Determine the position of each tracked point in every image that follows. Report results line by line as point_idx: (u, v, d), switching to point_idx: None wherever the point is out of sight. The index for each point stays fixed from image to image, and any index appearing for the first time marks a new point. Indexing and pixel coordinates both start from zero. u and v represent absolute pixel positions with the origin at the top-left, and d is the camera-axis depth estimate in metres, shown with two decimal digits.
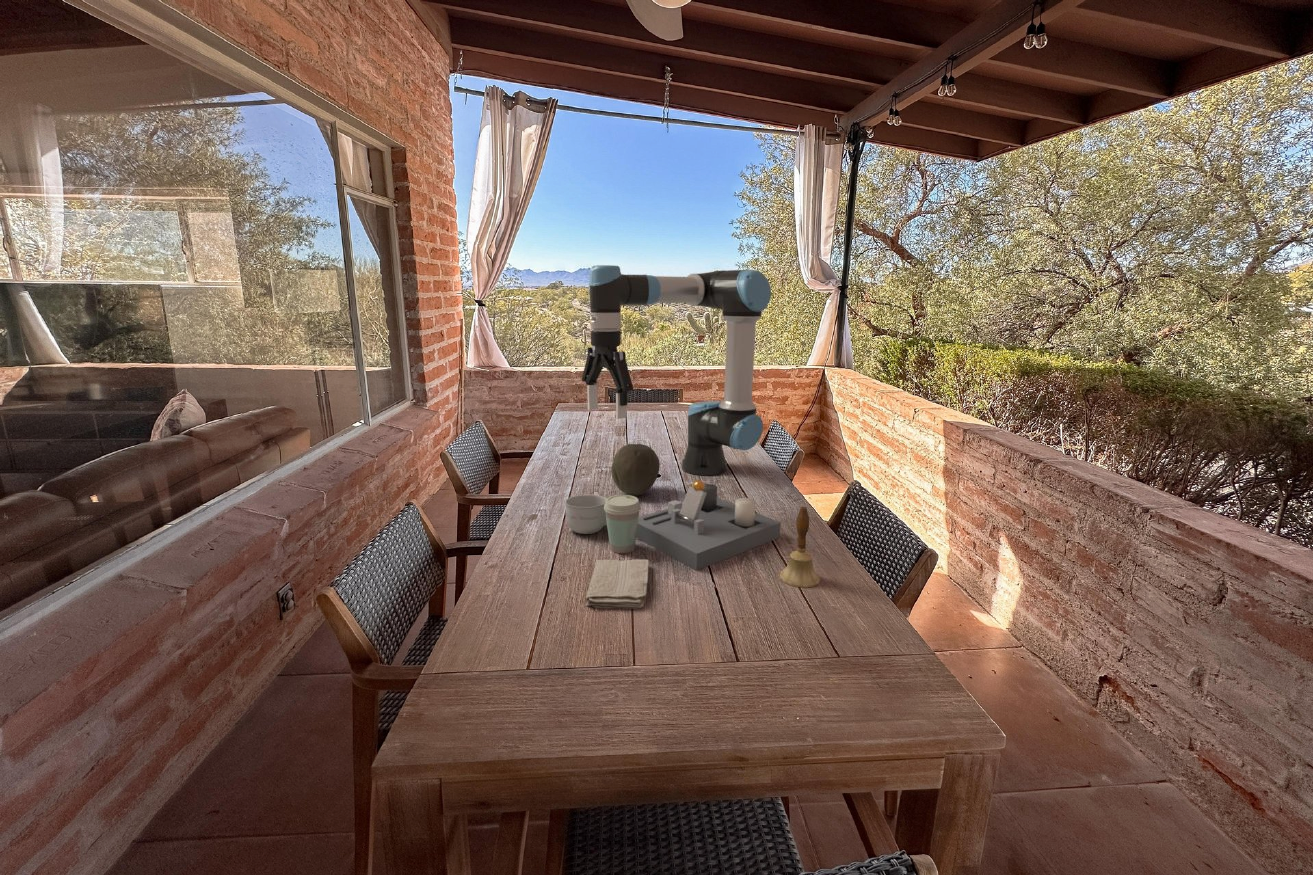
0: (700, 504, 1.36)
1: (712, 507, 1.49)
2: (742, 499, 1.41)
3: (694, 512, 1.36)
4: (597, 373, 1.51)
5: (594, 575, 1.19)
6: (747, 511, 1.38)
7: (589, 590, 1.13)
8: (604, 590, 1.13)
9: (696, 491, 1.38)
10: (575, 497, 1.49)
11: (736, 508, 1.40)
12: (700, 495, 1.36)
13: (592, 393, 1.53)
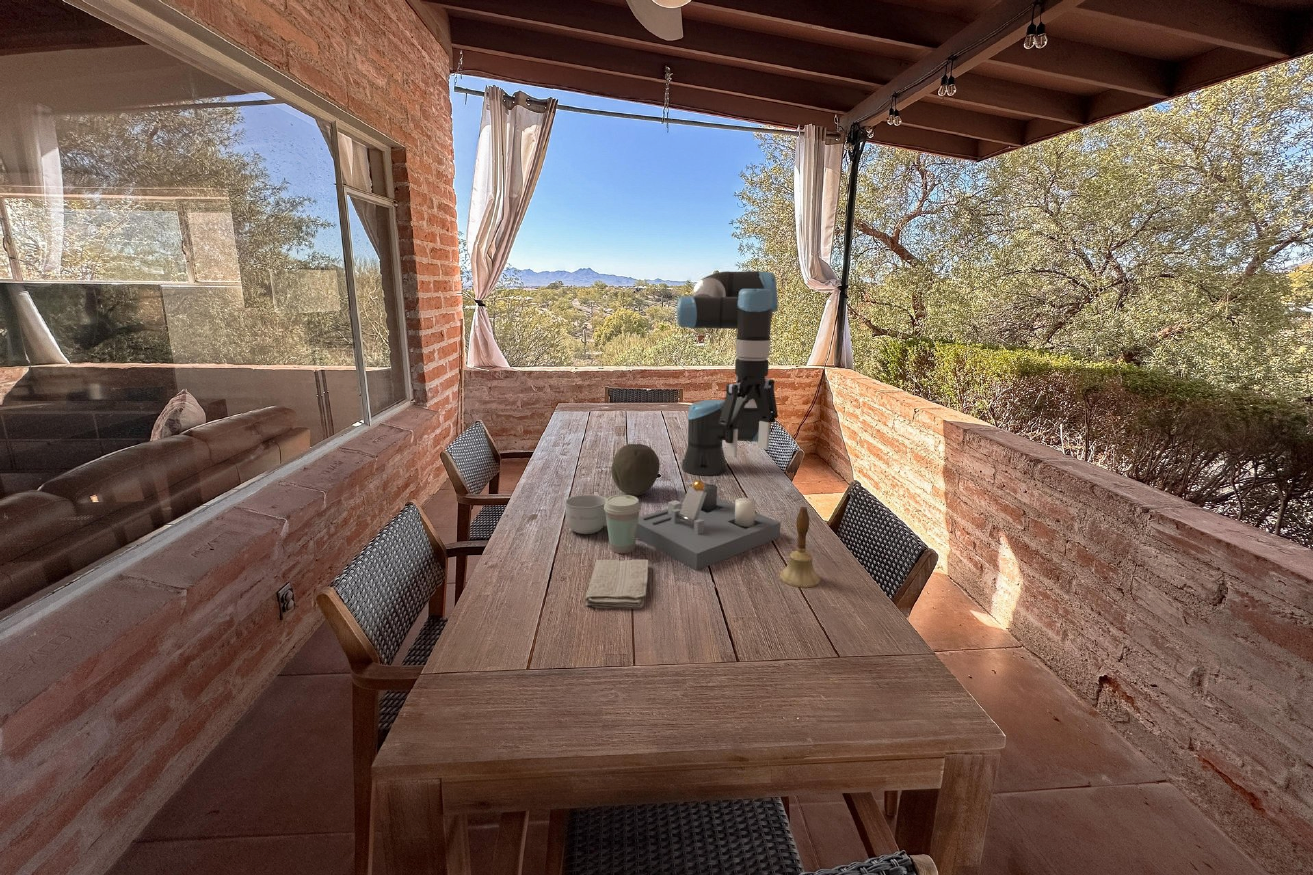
0: (700, 504, 1.36)
1: (712, 507, 1.49)
2: (742, 499, 1.41)
3: (694, 512, 1.36)
4: (762, 407, 1.37)
5: (594, 575, 1.19)
6: (747, 511, 1.38)
7: (589, 590, 1.13)
8: (604, 590, 1.13)
9: (696, 491, 1.38)
10: (575, 497, 1.49)
11: (736, 508, 1.40)
12: (700, 495, 1.36)
13: (762, 431, 1.40)
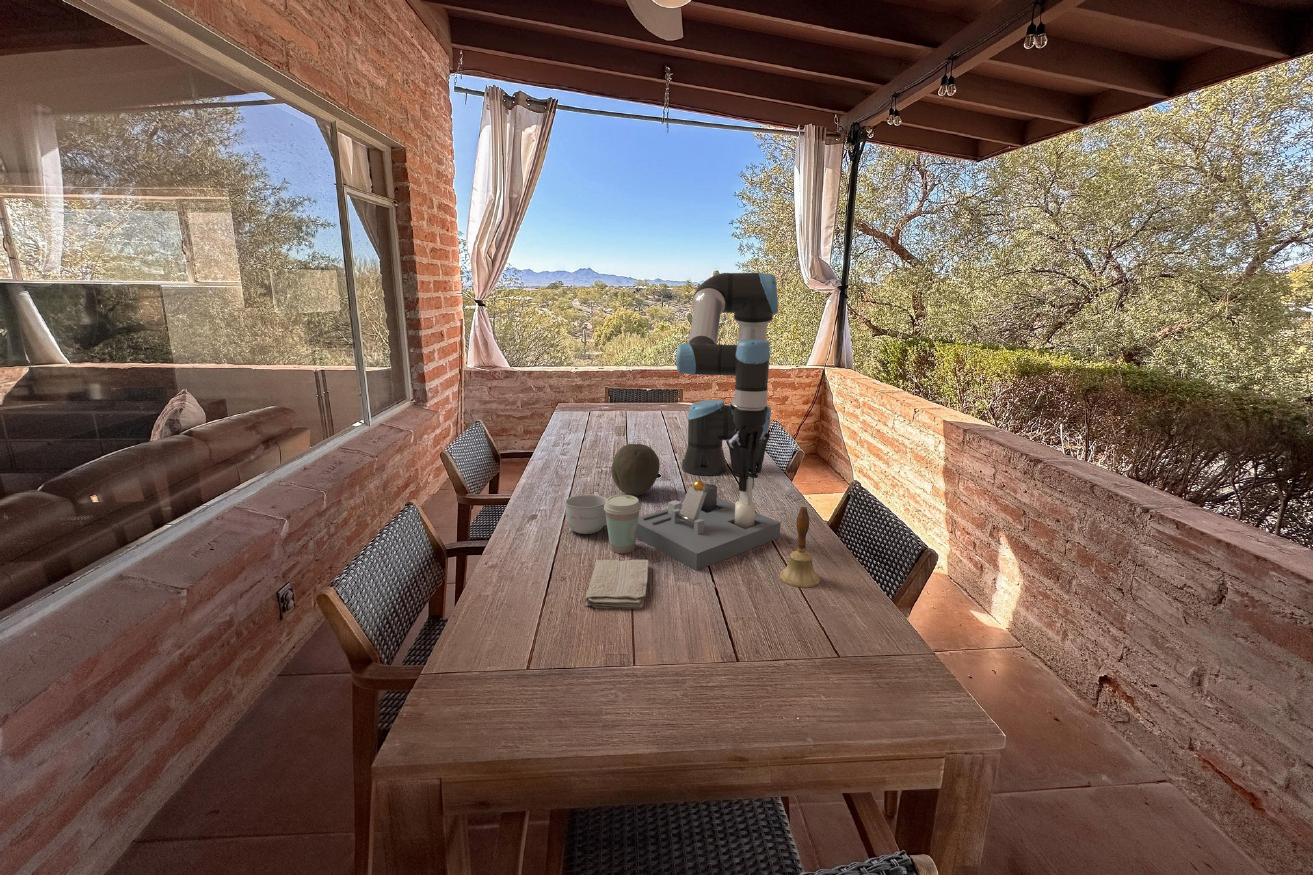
0: (700, 504, 1.36)
1: (712, 507, 1.49)
2: None
3: (694, 512, 1.36)
4: (751, 458, 1.38)
5: (594, 575, 1.19)
6: (747, 513, 1.39)
7: (589, 590, 1.13)
8: (604, 590, 1.13)
9: (696, 491, 1.38)
10: (575, 497, 1.49)
11: (736, 510, 1.40)
12: (700, 495, 1.36)
13: None
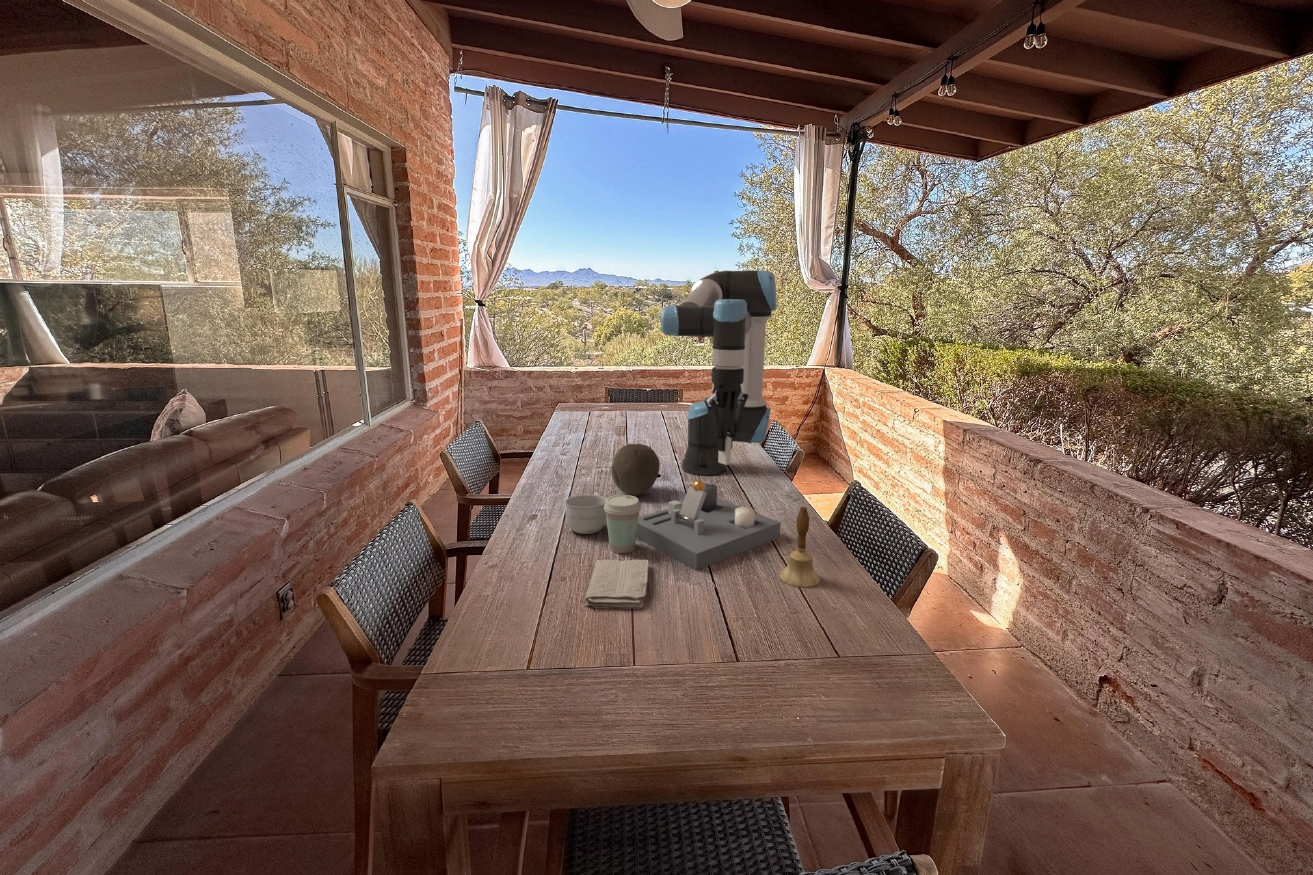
0: (700, 504, 1.36)
1: (712, 507, 1.49)
2: (742, 508, 1.42)
3: (694, 512, 1.36)
4: (729, 418, 1.39)
5: (594, 575, 1.19)
6: (746, 520, 1.39)
7: (588, 590, 1.13)
8: (604, 590, 1.13)
9: (696, 491, 1.38)
10: (575, 497, 1.49)
11: (736, 518, 1.41)
12: (700, 495, 1.36)
13: None
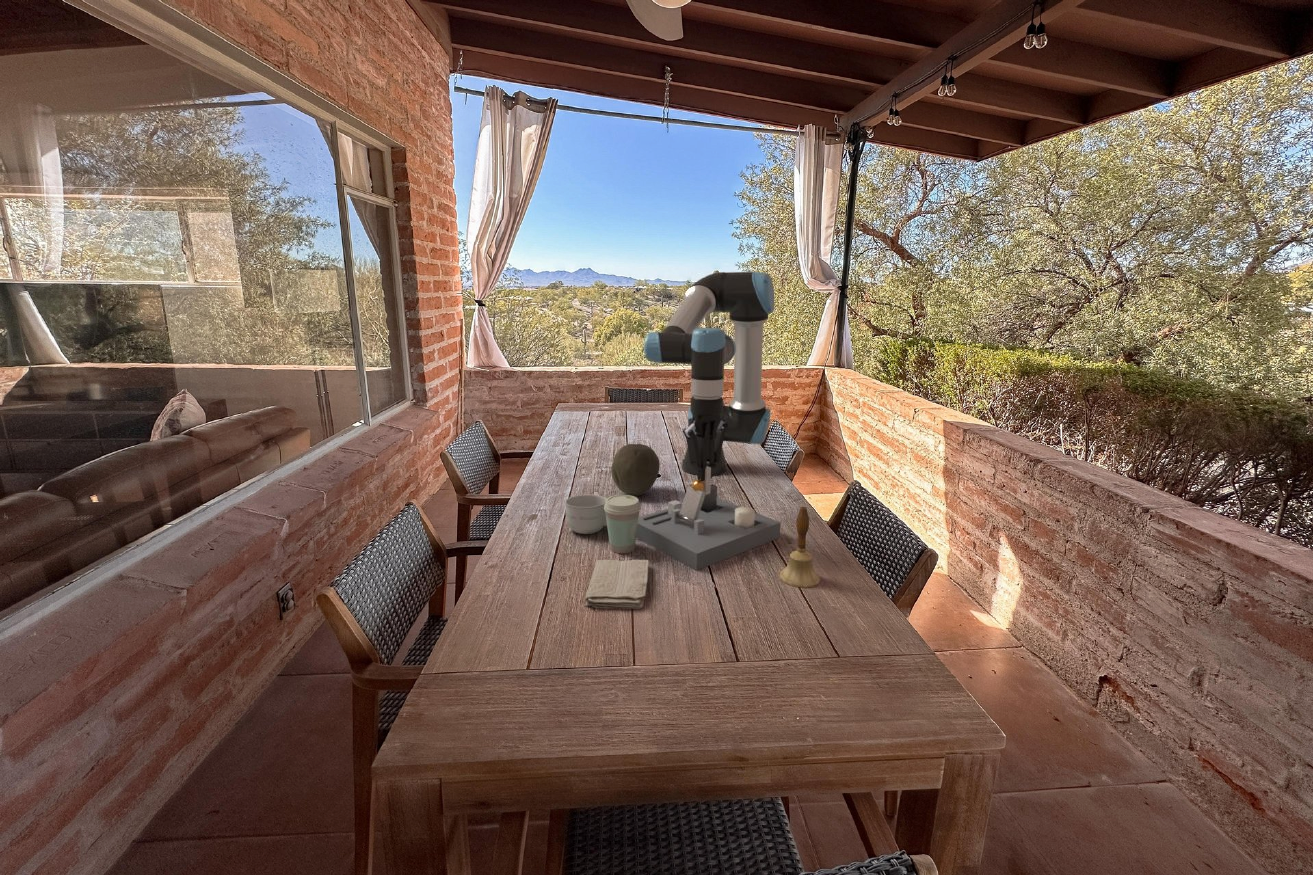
0: (699, 503, 1.36)
1: (712, 507, 1.49)
2: (742, 508, 1.42)
3: (694, 512, 1.36)
4: (708, 448, 1.37)
5: (594, 575, 1.19)
6: (746, 520, 1.39)
7: (588, 590, 1.13)
8: (604, 590, 1.13)
9: (695, 491, 1.37)
10: (575, 497, 1.49)
11: (736, 518, 1.41)
12: (700, 495, 1.36)
13: None
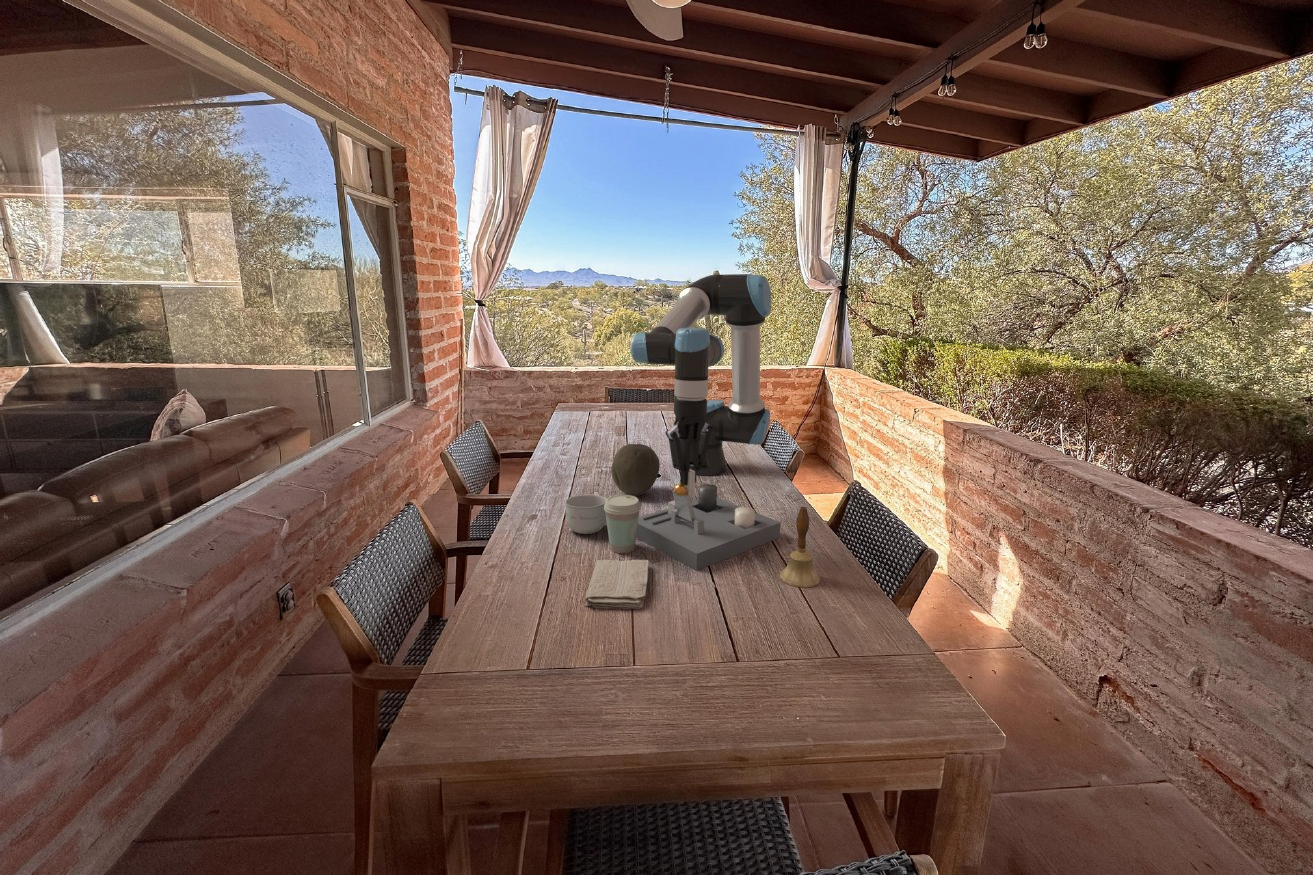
0: (690, 506, 1.34)
1: (712, 507, 1.49)
2: (742, 508, 1.42)
3: (689, 515, 1.35)
4: (692, 450, 1.34)
5: (594, 575, 1.19)
6: (746, 520, 1.39)
7: (588, 590, 1.13)
8: (604, 590, 1.13)
9: (680, 496, 1.35)
10: (575, 497, 1.49)
11: (736, 518, 1.41)
12: (686, 500, 1.34)
13: None
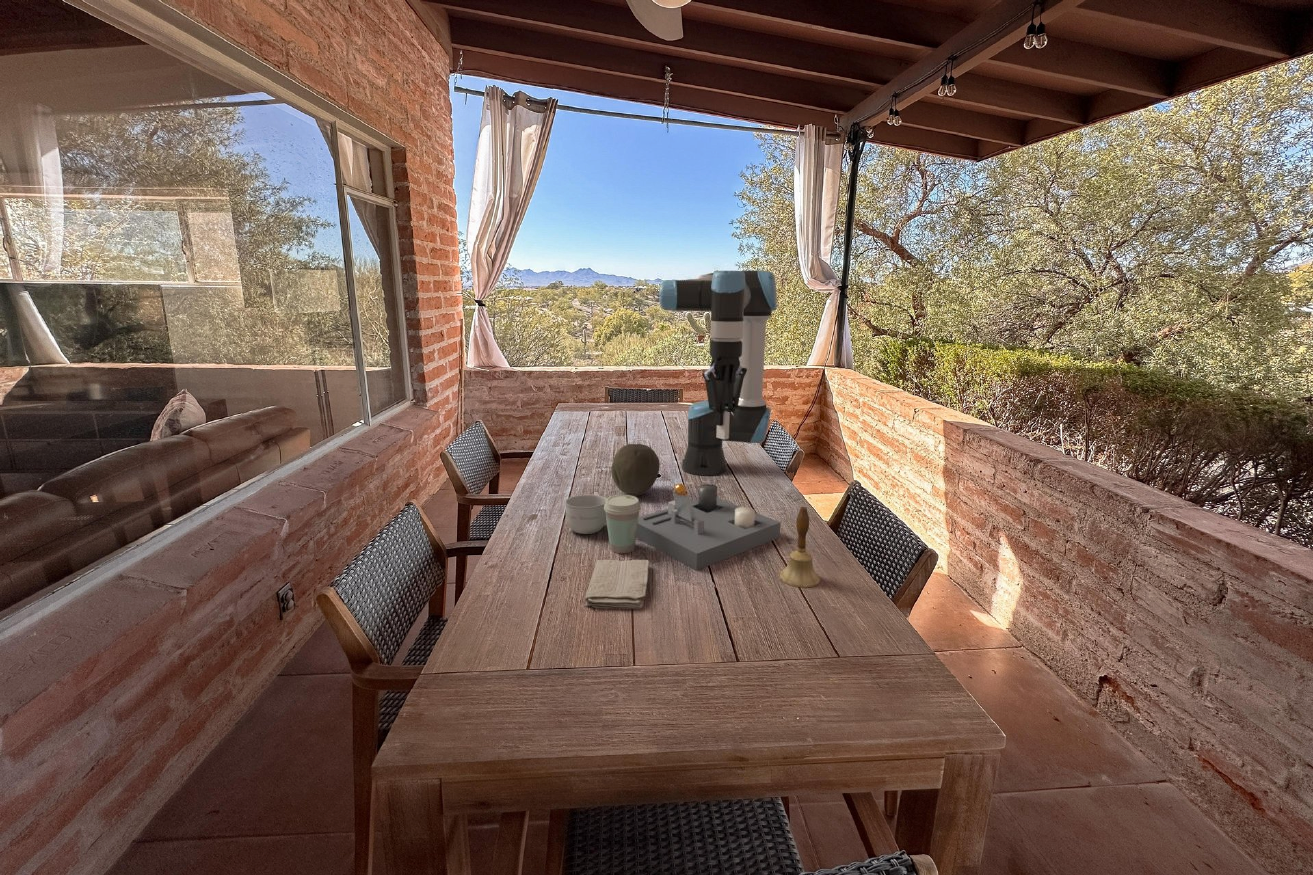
0: (690, 506, 1.34)
1: (712, 507, 1.49)
2: (742, 508, 1.42)
3: (689, 515, 1.35)
4: (727, 392, 1.38)
5: (594, 575, 1.19)
6: (746, 520, 1.39)
7: (588, 590, 1.13)
8: (604, 590, 1.13)
9: (680, 496, 1.35)
10: (575, 497, 1.49)
11: (736, 518, 1.41)
12: (686, 500, 1.34)
13: None
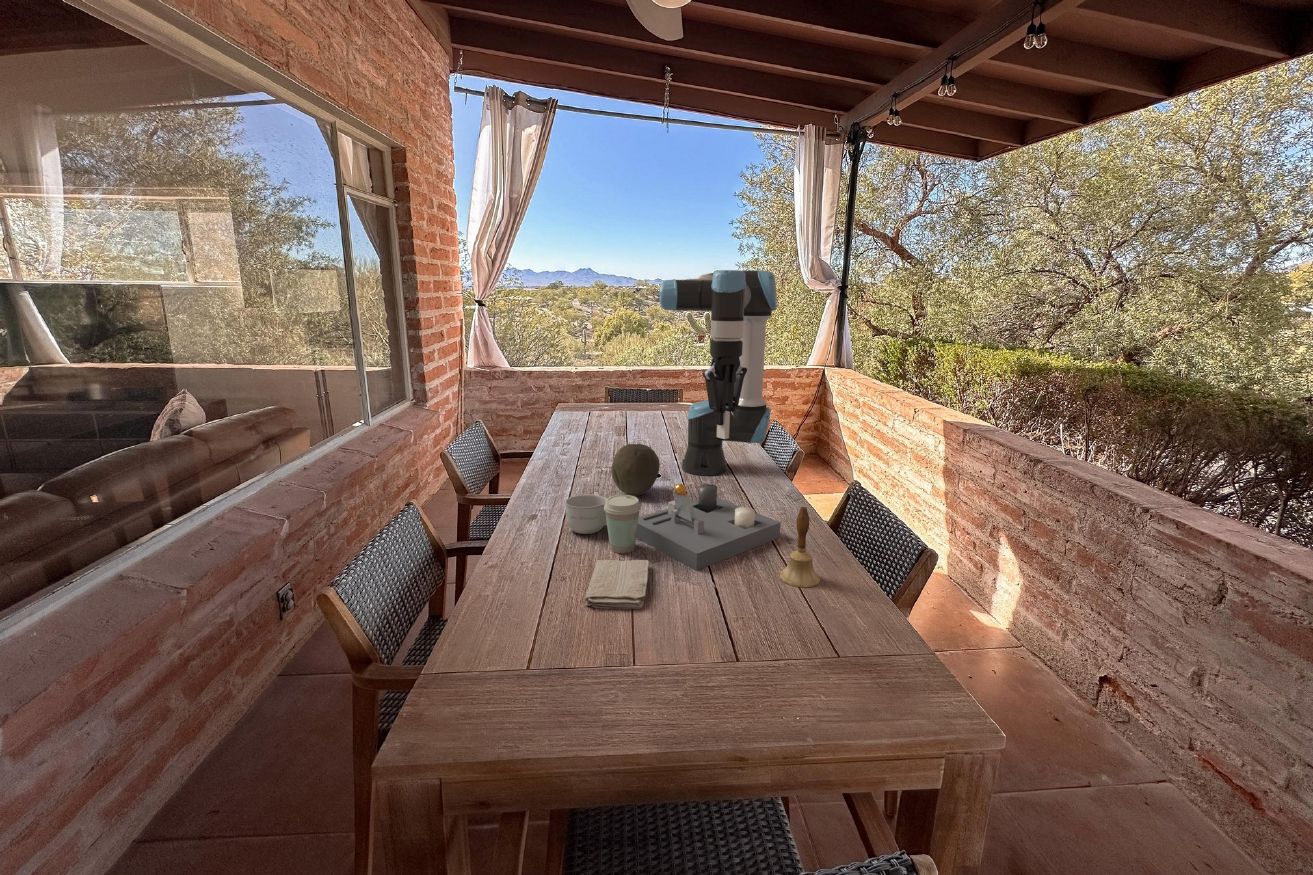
0: (690, 506, 1.34)
1: (712, 507, 1.49)
2: (742, 508, 1.42)
3: (689, 515, 1.35)
4: (727, 392, 1.38)
5: (594, 575, 1.19)
6: (746, 520, 1.39)
7: (588, 590, 1.13)
8: (604, 590, 1.13)
9: (680, 496, 1.35)
10: (575, 497, 1.49)
11: (736, 518, 1.41)
12: (686, 500, 1.34)
13: None
